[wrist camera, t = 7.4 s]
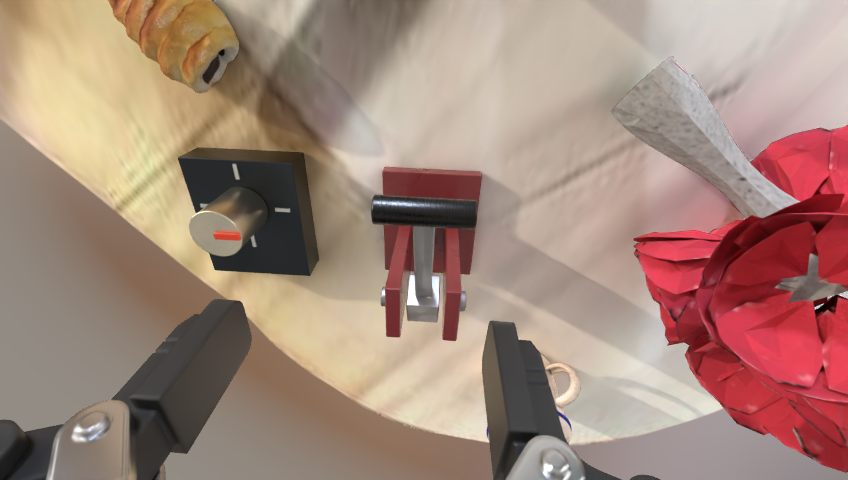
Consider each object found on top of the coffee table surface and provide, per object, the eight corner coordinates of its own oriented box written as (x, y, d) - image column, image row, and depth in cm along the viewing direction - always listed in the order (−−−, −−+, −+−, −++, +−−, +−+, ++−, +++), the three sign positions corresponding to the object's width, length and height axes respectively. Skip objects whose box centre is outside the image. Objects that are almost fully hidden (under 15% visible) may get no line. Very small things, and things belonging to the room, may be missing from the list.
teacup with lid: (510, 400, 50) (526, 493, 40) (465, 367, 47) (471, 460, 37) (585, 359, 45) (625, 454, 35) (540, 321, 42) (570, 412, 32)
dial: (228, 226, 34) (195, 257, 29) (217, 185, 32) (179, 211, 27) (272, 228, 34) (245, 260, 29) (263, 187, 32) (232, 214, 27)
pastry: (105, 6, 28) (60, 3, 25) (140, -74, 25) (94, -90, 22) (213, 97, 31) (186, 105, 28) (254, 34, 28) (229, 35, 25)
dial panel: (197, 147, 33) (176, 157, 31) (303, 152, 33) (290, 163, 30) (229, 254, 40) (213, 271, 37) (319, 259, 39) (309, 276, 36)
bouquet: (532, 191, 41) (733, 411, 36) (497, 181, 19) (994, 736, 14) (715, 34, 34) (997, 284, 29) (1000, -277, 12) (2387, 552, 7)
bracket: (384, 166, 33) (350, 243, 22) (480, 171, 33) (500, 251, 21) (386, 263, 39) (360, 366, 27) (469, 268, 39) (479, 374, 27)
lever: (375, 181, 18) (368, 220, 16) (477, 186, 17) (478, 225, 16) (392, 290, 28) (388, 319, 26) (456, 294, 28) (456, 323, 26)
